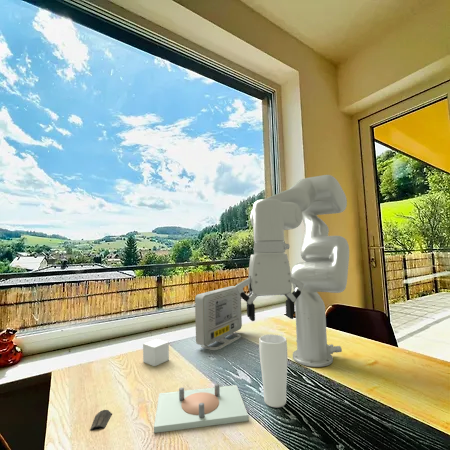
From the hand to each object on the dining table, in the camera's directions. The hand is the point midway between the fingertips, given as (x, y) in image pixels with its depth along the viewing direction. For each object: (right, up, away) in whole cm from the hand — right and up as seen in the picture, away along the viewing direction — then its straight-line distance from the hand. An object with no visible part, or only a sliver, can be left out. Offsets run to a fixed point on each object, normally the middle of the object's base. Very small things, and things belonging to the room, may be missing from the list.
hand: (271, 318), depth 67 cm
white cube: (-34, -23, +25) cm, 48 cm away
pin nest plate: (-17, -20, -3) cm, 27 cm away
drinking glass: (+1, -20, -1) cm, 20 cm away
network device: (-13, -24, +42) cm, 50 cm away
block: (-39, -21, -6) cm, 45 cm away
